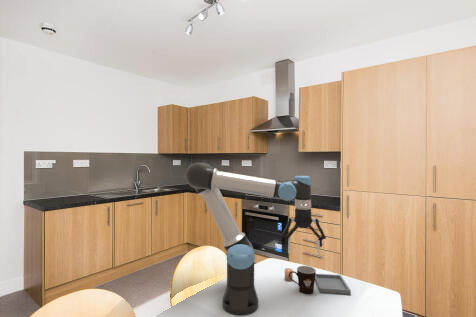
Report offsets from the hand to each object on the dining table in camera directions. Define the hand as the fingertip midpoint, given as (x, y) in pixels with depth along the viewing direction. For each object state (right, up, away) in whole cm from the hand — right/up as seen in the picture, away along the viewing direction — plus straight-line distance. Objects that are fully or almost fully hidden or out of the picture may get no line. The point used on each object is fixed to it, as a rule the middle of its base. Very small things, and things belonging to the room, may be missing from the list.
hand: (303, 253), depth 117 cm
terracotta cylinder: (-5, -18, +10) cm, 21 cm away
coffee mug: (0, -18, 0) cm, 18 cm away
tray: (+14, -18, +4) cm, 23 cm away
